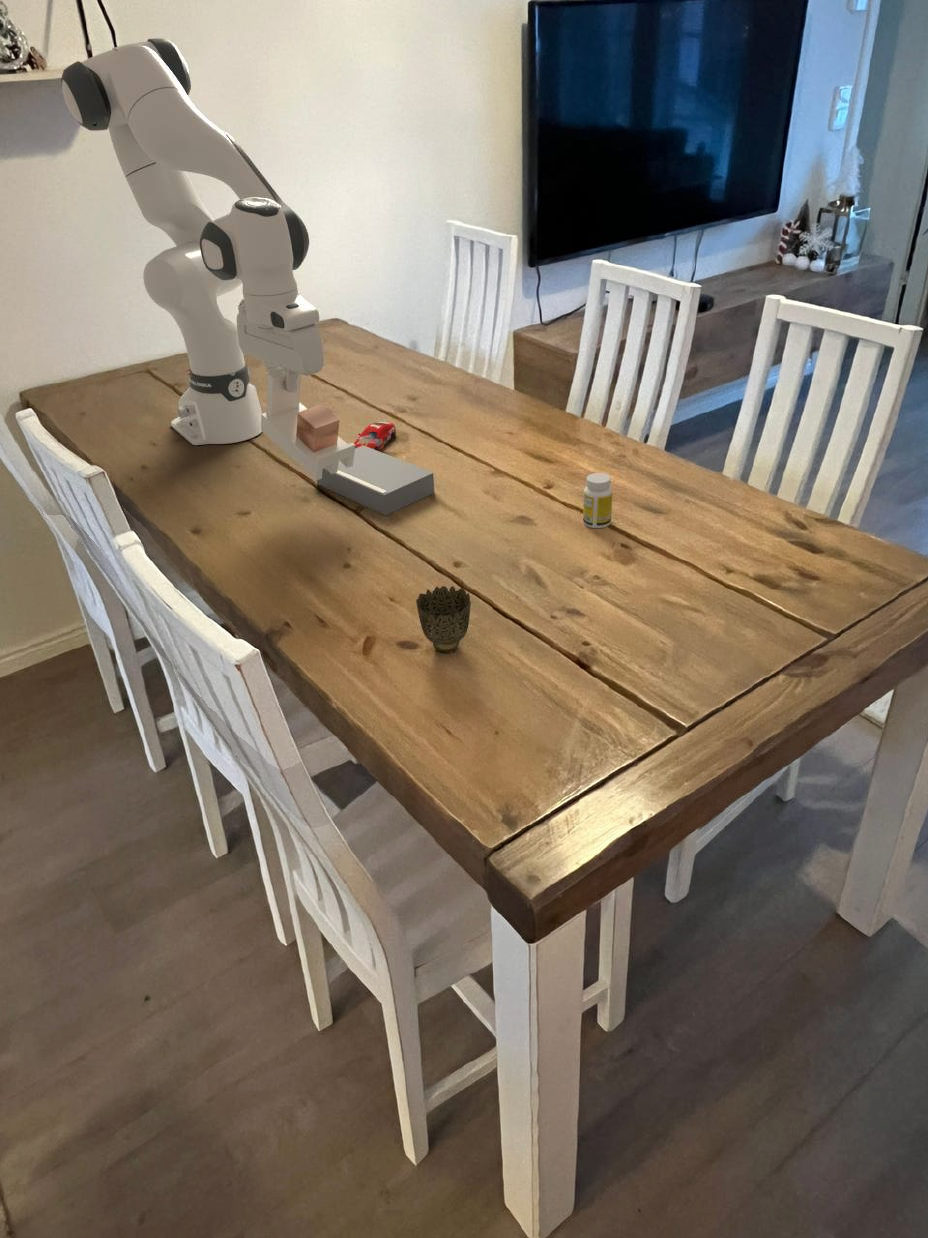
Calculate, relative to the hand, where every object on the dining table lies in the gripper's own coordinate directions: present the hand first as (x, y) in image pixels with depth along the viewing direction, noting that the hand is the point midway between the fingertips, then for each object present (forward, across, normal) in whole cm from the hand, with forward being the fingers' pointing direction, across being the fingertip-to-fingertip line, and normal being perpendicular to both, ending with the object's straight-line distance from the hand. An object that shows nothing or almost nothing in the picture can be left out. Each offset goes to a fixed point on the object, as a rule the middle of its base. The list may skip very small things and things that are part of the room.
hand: (284, 388), depth 157 cm
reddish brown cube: (+7, +8, 0) cm, 11 cm away
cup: (+21, +55, -15) cm, 60 cm away
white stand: (+10, +4, 0) cm, 11 cm away
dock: (+21, +8, +12) cm, 25 cm away
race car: (+21, -9, +25) cm, 34 cm away
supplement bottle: (+21, +47, +28) cm, 59 cm away
